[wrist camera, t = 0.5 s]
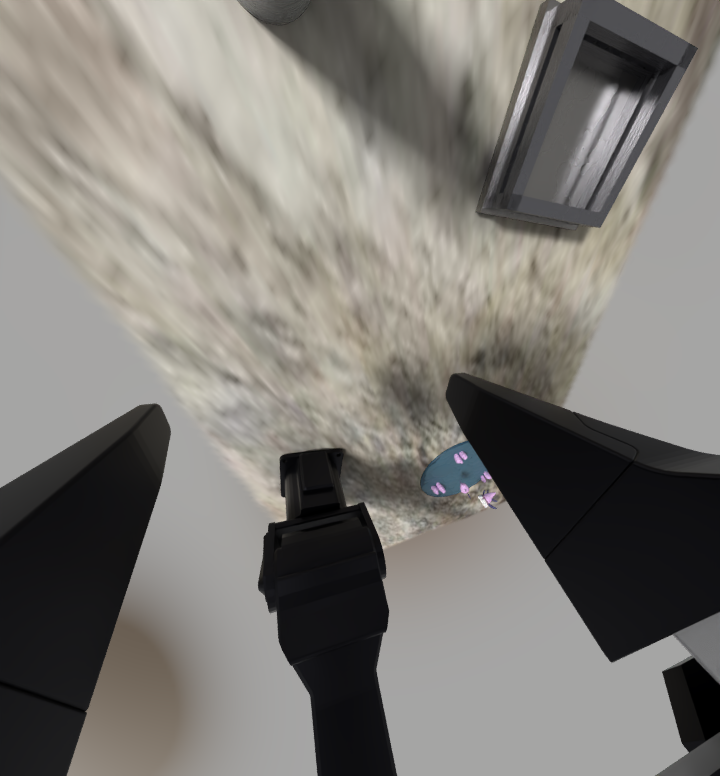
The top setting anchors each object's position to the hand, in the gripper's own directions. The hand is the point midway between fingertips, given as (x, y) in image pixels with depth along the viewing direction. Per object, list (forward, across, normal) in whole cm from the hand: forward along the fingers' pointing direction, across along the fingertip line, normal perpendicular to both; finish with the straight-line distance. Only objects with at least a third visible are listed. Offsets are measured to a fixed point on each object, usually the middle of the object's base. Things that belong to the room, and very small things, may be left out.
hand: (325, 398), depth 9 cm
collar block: (+12, -18, -10) cm, 24 cm away
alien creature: (+14, -21, +25) cm, 35 cm away
